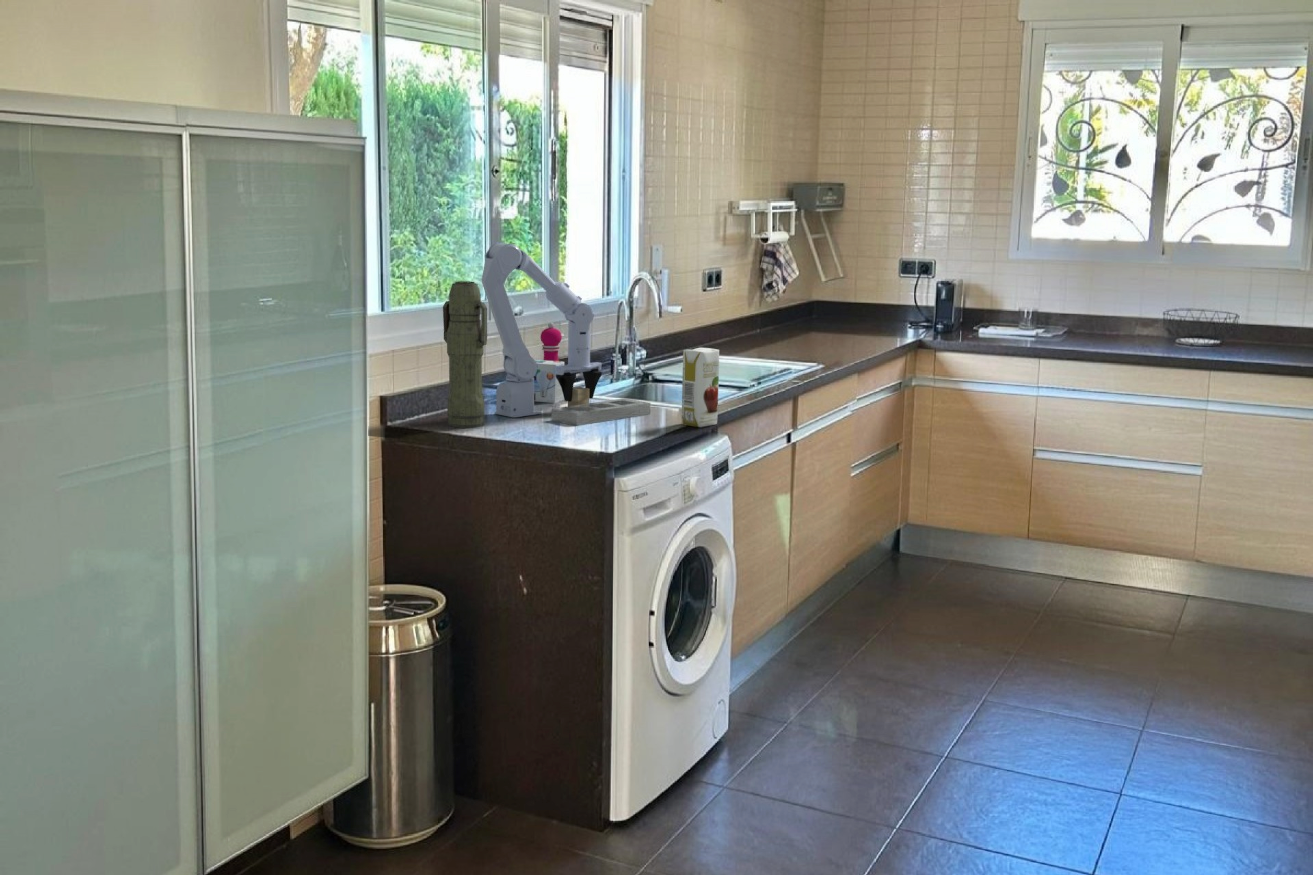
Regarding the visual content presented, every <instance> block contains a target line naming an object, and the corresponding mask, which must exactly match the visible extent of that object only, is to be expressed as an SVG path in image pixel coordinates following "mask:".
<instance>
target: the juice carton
mask: <svg viewBox="0 0 1313 875" xmlns="http://www.w3.org/2000/svg"><path fill="white" fill-rule="evenodd" d="M682 354H683V355H682V380H681V381H682V384H681V385H682V386H681V390H682V391H681V424H682V425H683V426H684V425H685V426H691V427H697V428H704V427H709V426H714V425H717V424H718V413H719V412H718V410H719V409H718V408H719V385H720V384H719V381H720V377H719V376H720V375H719V374H720V349H716V348H711V347H710V348H709V347H698V348H697V347H696V348H694V349H683V352H682Z"/></svg>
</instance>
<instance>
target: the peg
mask: <svg viewBox="0 0 1313 875" xmlns="http://www.w3.org/2000/svg"><path fill="white" fill-rule="evenodd" d="M588 403H590V398H589V389H588V388H585V387H582V386H576V387H574V386H573V394H572V401H571V402H569V401H567V406H574V405H581V404H588Z"/></svg>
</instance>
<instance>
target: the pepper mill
mask: <svg viewBox="0 0 1313 875" xmlns="http://www.w3.org/2000/svg"><path fill="white" fill-rule="evenodd" d="M562 337H563V336H562V333H561V331H560V330H559V329H557V328H555V324H554V323H553V322H548V325H547V328H545V329H543V330H542V331H541V334H540V341H541V343H542V346H541V347H542V349H541V350H542V351H543V359H542V360H545V361H560V359H559V351H560V349H561V348H560V347H561V346H560V343H561V341H562Z"/></svg>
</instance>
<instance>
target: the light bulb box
mask: <svg viewBox="0 0 1313 875" xmlns="http://www.w3.org/2000/svg"><path fill="white" fill-rule="evenodd" d="M534 360H535V362H536V364H537V372H536V374H535V376H534V402H538V403H551V404H556V403H557V404H558V403H560V402H561V401H565V400H564V395H563V392H562V388H561V386H560V384H559V382H558V380H557V378H556V367H560V366H564V365H565V361H561V360H559V361H545V360H543V359H534Z"/></svg>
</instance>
